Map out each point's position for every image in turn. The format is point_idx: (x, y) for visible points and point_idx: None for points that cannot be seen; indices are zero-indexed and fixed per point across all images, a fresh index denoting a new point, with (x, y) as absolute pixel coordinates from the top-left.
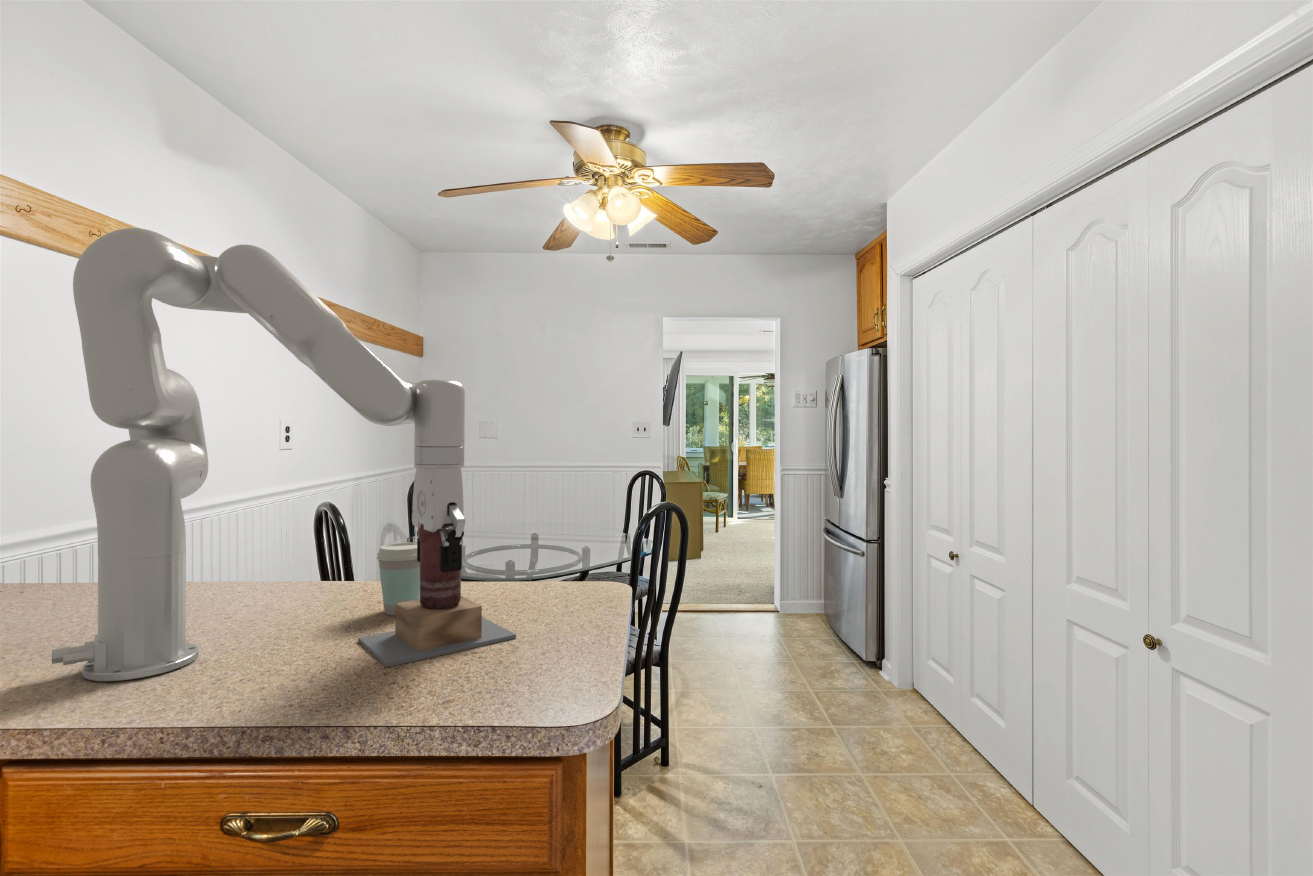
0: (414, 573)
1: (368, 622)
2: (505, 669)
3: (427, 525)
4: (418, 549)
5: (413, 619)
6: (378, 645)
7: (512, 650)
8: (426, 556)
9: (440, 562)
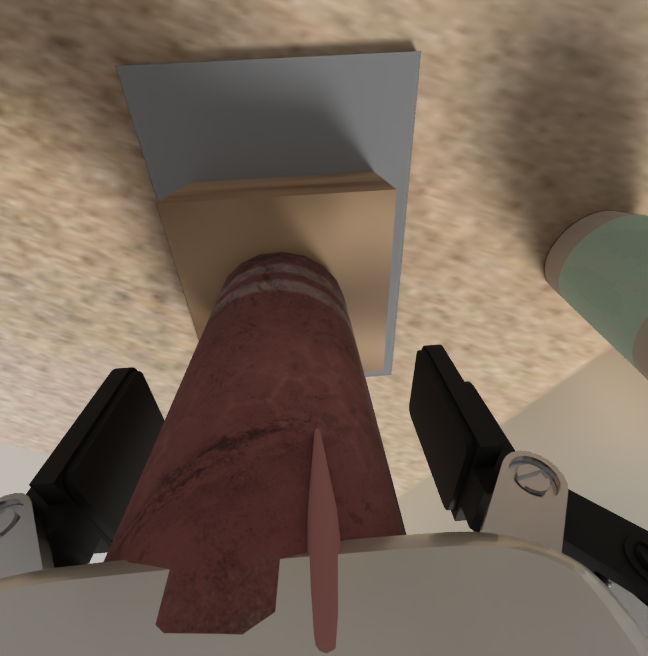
0: (618, 331)
1: (575, 143)
2: (27, 312)
3: (25, 653)
4: (449, 388)
5: (207, 197)
6: (299, 92)
7: (145, 356)
8: (204, 376)
9: (104, 398)
